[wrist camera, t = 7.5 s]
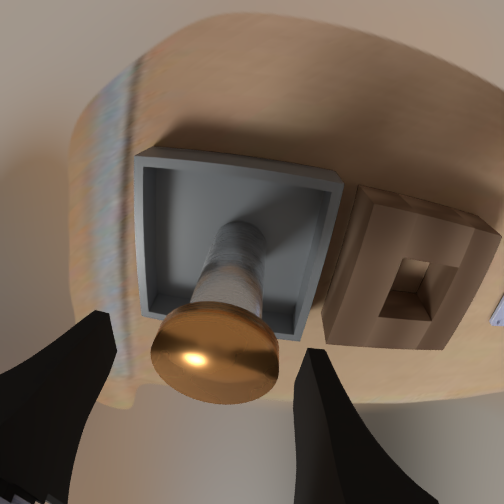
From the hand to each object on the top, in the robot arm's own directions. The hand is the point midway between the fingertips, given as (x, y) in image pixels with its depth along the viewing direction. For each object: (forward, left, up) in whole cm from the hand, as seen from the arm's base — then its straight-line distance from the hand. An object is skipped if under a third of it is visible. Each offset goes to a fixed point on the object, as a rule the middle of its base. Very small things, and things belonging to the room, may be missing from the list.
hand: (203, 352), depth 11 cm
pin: (0, 0, -8) cm, 8 cm away
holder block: (-11, 0, -9) cm, 14 cm away
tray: (0, 0, -9) cm, 9 cm away
